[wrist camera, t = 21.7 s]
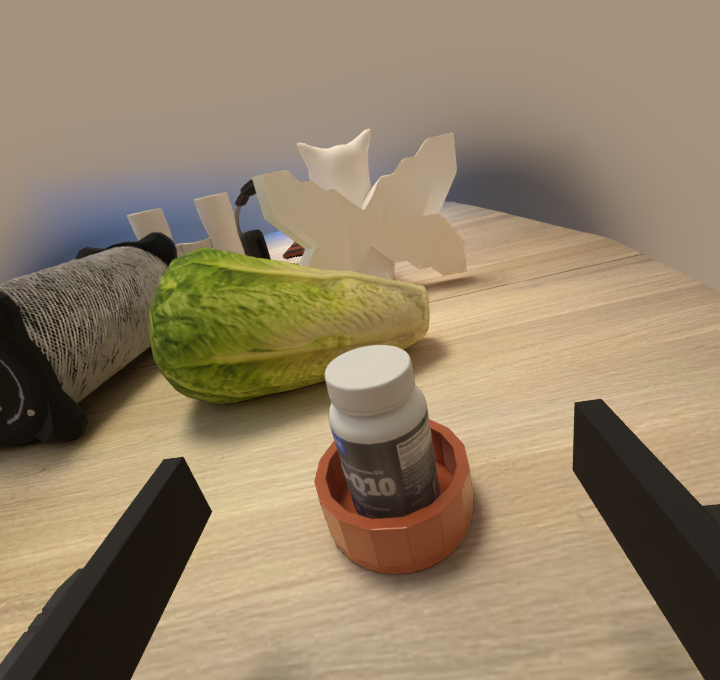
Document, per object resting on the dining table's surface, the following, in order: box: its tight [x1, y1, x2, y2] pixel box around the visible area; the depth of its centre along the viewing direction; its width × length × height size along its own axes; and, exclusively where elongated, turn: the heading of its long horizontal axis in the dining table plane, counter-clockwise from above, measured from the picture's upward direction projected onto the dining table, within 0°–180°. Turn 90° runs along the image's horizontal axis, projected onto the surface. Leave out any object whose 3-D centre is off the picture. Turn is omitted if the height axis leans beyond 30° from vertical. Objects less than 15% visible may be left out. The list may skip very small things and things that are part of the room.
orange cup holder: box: [315, 419, 473, 574], centre depth 20 cm, size 8×8×3 cm
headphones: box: [234, 180, 271, 260], centre depth 82 cm, size 22×6×20 cm, turn 79°
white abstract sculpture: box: [252, 129, 467, 281], centre depth 52 cm, size 25×21×21 cm
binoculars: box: [127, 192, 245, 258], centre depth 65 cm, size 17×5×18 cm, turn 88°
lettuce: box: [149, 247, 429, 405], centre depth 34 cm, size 14×24×14 cm
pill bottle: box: [325, 345, 440, 519], centre depth 19 cm, size 5×5×8 cm
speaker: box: [0, 232, 177, 446], centre depth 44 cm, size 15×28×15 cm, turn 177°
